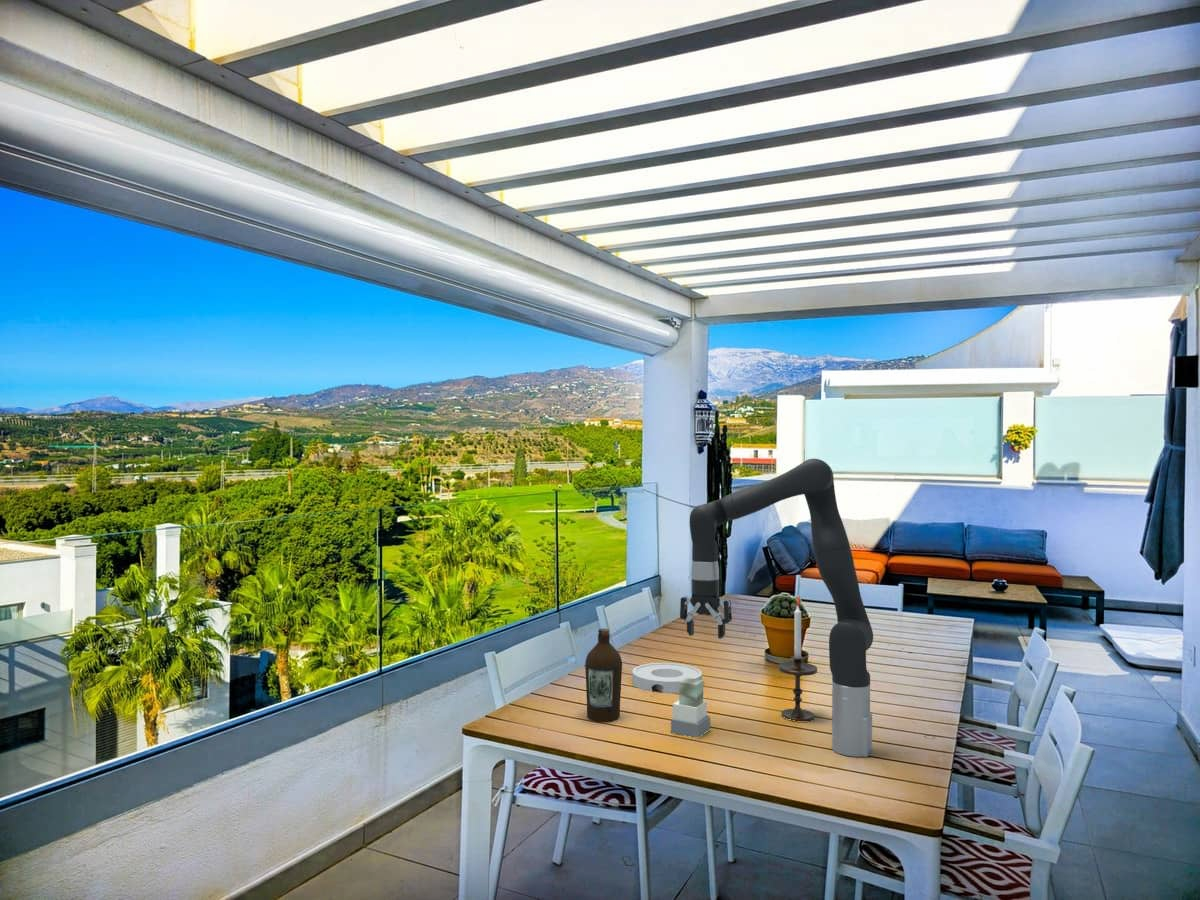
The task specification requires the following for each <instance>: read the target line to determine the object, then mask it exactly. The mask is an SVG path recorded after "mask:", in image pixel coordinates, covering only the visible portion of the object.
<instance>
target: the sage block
mask: <svg viewBox="0 0 1200 900" xmlns="http://www.w3.org/2000/svg"><path fill="white" fill-rule="evenodd" d="M678 695H679V696H678V700H679V704H680V705H686V706H691V707H698V706H699V705H700V704H702V703H703V701H704V679H702V680H698V679H692V678H685V679H683V680H682V681H680V682H679V693H678Z"/></svg>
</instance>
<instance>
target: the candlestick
mask: <svg viewBox="0 0 1200 900" xmlns="http://www.w3.org/2000/svg"><path fill="white" fill-rule="evenodd" d="M800 603H801V595H800V594H799V596H798V597H797V601H796V609H795V610H794V617H793V618H794V624H793V625H794V626H793V627H794V628H793V629H794V631H793V632H794V638H793V639H794V640H793V641H794V644H793V645H794V646H793V647H794V652H793V653H794V654H793V655H792V656H790V658H791V659H793V661H786V662H785V661H784V662H780V663H779V664H778V666H777V667H778V671H779V672H781V673H784V674H786V675H792V676H794V677H795V678H794V679H795V683H794V684H795V685H794V686H795V687H794V688H793V689H792V693H793V694H794V697H793V701H794V702H795V703H794V704H795V705H794V708H788V709H784V710H782V711H781V717H782V716H783V717H785V718H787V719H791V720H795V721H809V722H812V721H814V719H815V715H814V714H815V713H813V712H812V711H808V710H806V709H802V708H801V702H802V701H803V698H801V695H802V694H803V689H802V688H801V677H803V676H812V675H816V674H817V673H818V667H817V665H814V664H811V663H809V662H802V660H805V659H806V658H805V657H804V656H802V610H800V606H799V605H800ZM783 717H782V718H783ZM811 720H812V721H811Z"/></svg>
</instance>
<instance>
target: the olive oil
mask: <svg viewBox="0 0 1200 900" xmlns="http://www.w3.org/2000/svg"><path fill="white" fill-rule="evenodd" d="M597 631H598V634H597V643H596V644H595V645H594V647H592V649H591V650H590V651H589V652H588V653H587V654H586V658H585V663H584V664H585V665H584V666H585V667H584V670H585V688H586V690H585V691H586V693H585V694H586V718H587V719H589V720H590V721H593V722H598V723H609V722H615V721H617V720H618V719H620V715H621V694H622V693H621V692H622V676H623V675H622V673H623V660H622V656H621V654H620V653H619V651H618V650H617V649H616V648H615V647H614V645H612V643H610V639H611V638H610V637H611V635H610V629H609V628H599V629H598V630H597Z"/></svg>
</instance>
